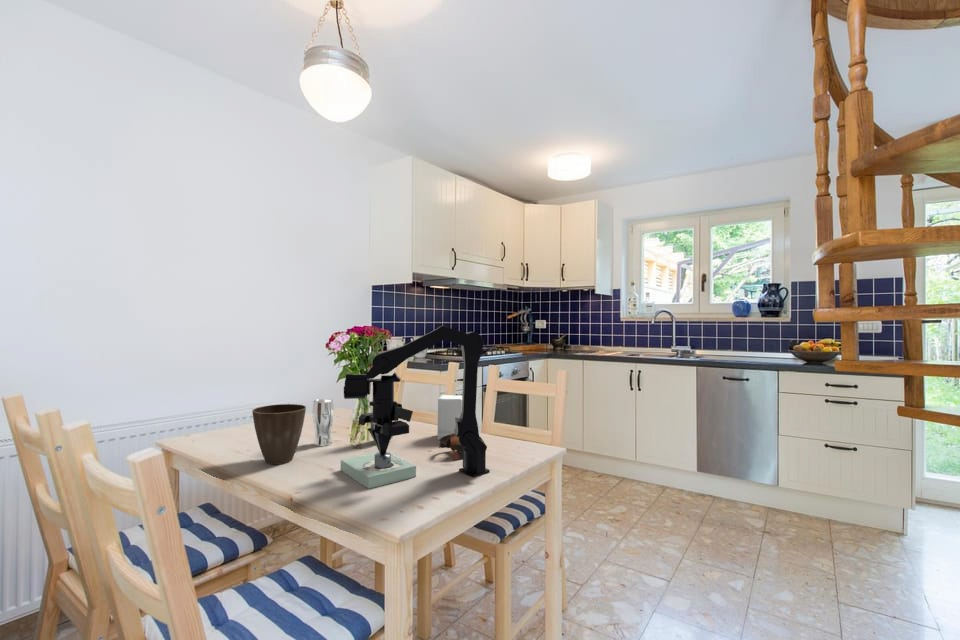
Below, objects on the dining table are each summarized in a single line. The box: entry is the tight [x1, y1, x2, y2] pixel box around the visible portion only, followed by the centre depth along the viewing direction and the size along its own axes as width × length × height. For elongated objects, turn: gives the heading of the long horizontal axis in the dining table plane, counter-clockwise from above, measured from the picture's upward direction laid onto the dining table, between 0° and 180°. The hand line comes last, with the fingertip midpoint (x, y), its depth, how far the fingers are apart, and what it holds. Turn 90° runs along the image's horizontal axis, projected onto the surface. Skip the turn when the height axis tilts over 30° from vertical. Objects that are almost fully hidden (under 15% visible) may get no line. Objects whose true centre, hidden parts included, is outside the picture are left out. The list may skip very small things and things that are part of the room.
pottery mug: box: [438, 433, 466, 461], centre depth 141 cm, size 12×10×8 cm
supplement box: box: [437, 394, 462, 441], centre depth 162 cm, size 9×9×15 cm
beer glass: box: [311, 398, 335, 447], centre depth 153 cm, size 7×7×15 cm
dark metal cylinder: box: [374, 451, 392, 469], centre depth 121 cm, size 4×4×6 cm
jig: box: [340, 451, 417, 490], centre depth 123 cm, size 18×14×3 cm
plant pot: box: [251, 403, 307, 465], centre depth 134 cm, size 15×15×16 cm
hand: (382, 454), depth 121 cm, fingers closed, pressing on dark metal cylinder
